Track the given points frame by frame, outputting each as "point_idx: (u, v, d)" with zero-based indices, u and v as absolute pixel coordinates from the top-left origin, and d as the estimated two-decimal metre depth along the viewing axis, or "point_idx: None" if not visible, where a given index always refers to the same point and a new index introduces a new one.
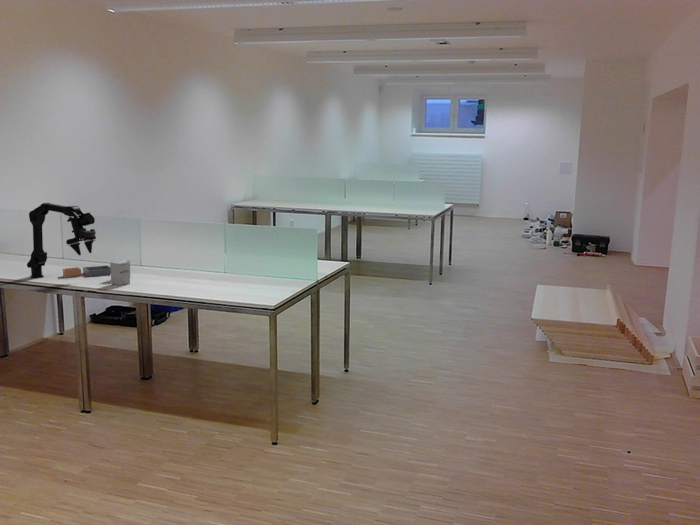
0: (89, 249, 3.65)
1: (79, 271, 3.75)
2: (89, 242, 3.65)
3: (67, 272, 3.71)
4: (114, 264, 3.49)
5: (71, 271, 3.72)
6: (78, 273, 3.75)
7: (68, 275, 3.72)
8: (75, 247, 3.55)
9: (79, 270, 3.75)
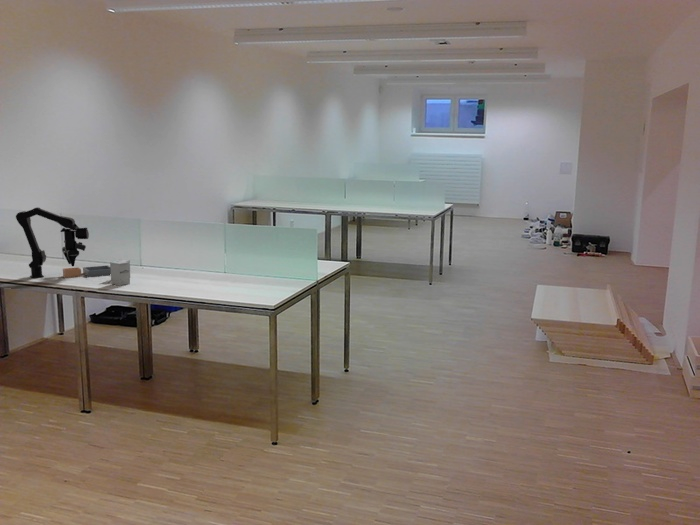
0: (69, 260, 3.78)
1: (79, 271, 3.75)
2: None
3: (67, 272, 3.71)
4: (114, 264, 3.49)
5: (71, 271, 3.72)
6: (78, 273, 3.75)
7: (68, 275, 3.72)
8: (72, 258, 3.69)
9: (79, 270, 3.75)
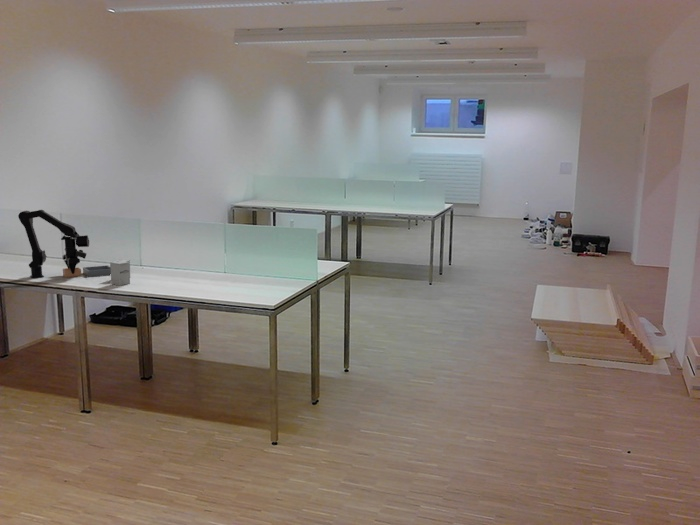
0: None
1: (79, 271, 3.75)
2: None
3: (67, 272, 3.71)
4: (114, 264, 3.49)
5: None
6: (78, 273, 3.75)
7: (68, 275, 3.72)
8: (72, 266, 3.71)
9: (79, 270, 3.75)
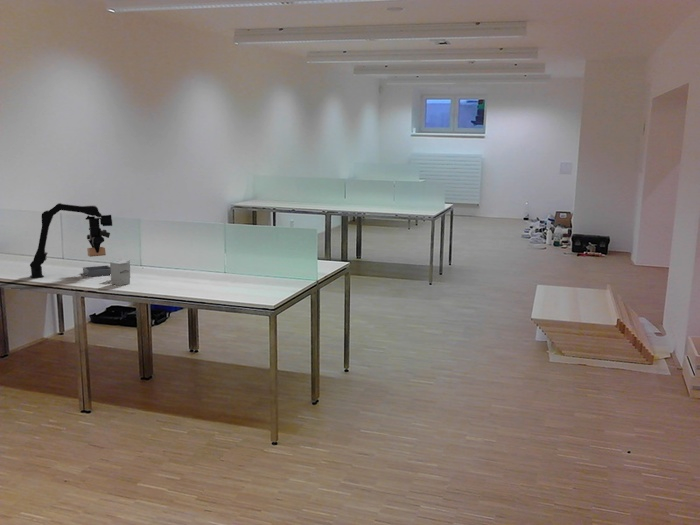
0: None
1: (103, 250, 3.81)
2: None
3: (91, 251, 3.77)
4: (114, 264, 3.49)
5: None
6: (103, 252, 3.81)
7: (93, 254, 3.78)
8: (96, 245, 3.77)
9: (103, 249, 3.81)
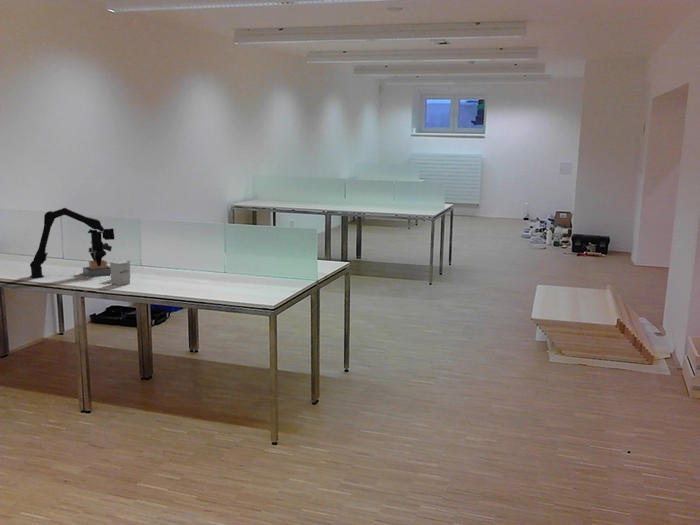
0: None
1: (105, 264, 3.83)
2: None
3: (93, 264, 3.79)
4: (114, 264, 3.49)
5: None
6: (104, 266, 3.83)
7: (94, 267, 3.79)
8: (98, 258, 3.79)
9: (105, 263, 3.83)
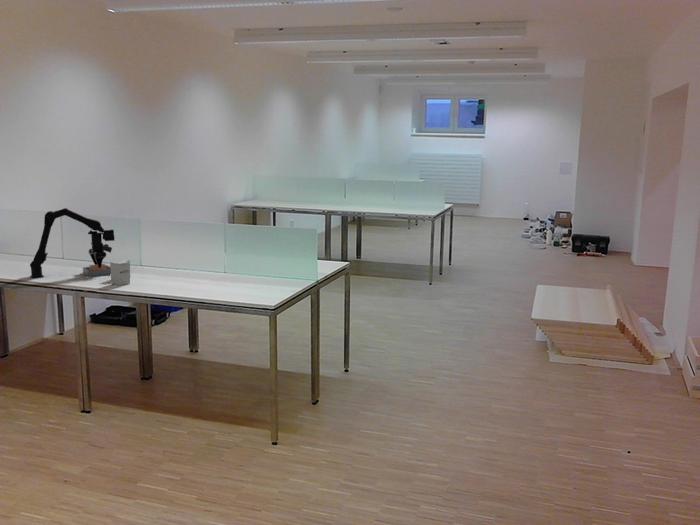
0: (96, 262, 3.87)
1: (105, 267, 3.83)
2: None
3: (93, 268, 3.79)
4: (114, 264, 3.49)
5: (97, 267, 3.80)
6: None
7: None
8: (99, 260, 3.77)
9: (105, 266, 3.83)
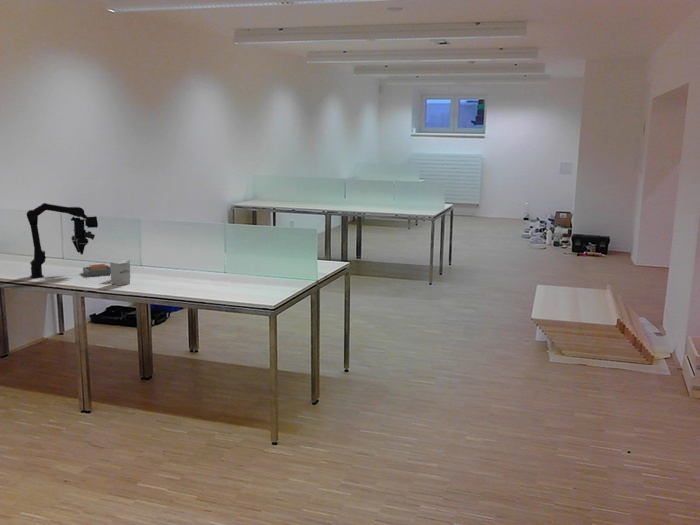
0: (78, 249, 3.85)
1: (105, 267, 3.83)
2: None
3: (93, 268, 3.79)
4: (114, 264, 3.49)
5: (97, 267, 3.80)
6: None
7: None
8: (81, 246, 3.76)
9: (105, 266, 3.83)
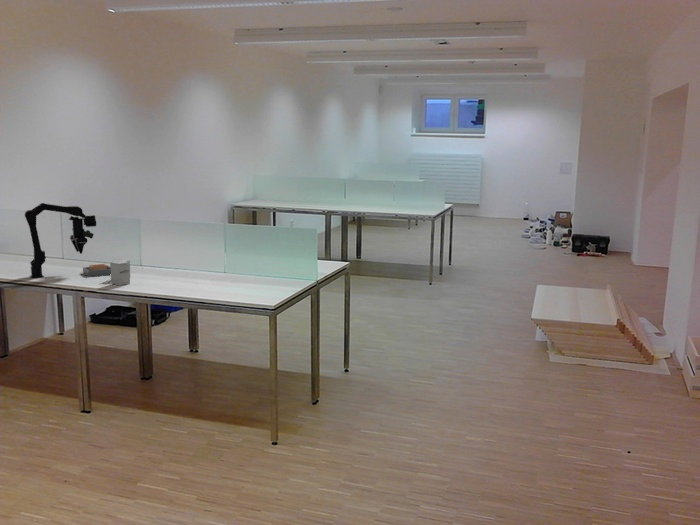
0: (77, 248, 3.85)
1: (105, 267, 3.83)
2: None
3: (93, 268, 3.79)
4: (114, 264, 3.49)
5: (97, 267, 3.80)
6: None
7: None
8: (80, 246, 3.76)
9: (105, 266, 3.83)
